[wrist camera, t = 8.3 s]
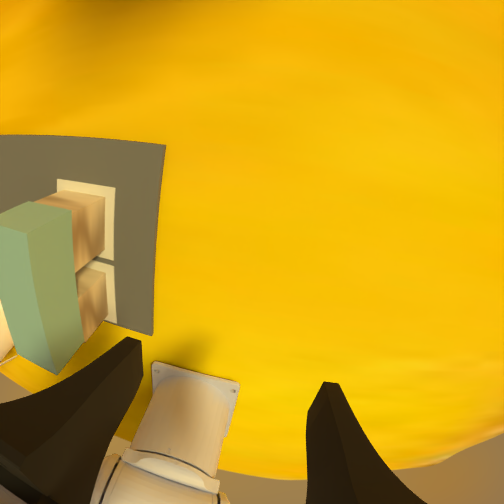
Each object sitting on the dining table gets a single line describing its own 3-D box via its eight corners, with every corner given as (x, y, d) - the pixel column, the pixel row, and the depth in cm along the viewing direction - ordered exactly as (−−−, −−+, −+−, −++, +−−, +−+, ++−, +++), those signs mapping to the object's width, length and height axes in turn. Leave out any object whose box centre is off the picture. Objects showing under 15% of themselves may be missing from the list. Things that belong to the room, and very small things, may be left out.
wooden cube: (108, 314, 23) (85, 342, 20) (71, 301, 23) (46, 326, 20) (105, 272, 22) (77, 299, 18) (66, 261, 22) (37, 283, 18)
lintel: (84, 340, 19) (57, 375, 16) (45, 324, 20) (17, 353, 16) (71, 210, 15) (26, 233, 12) (28, 201, 16) (-15, 220, 12)
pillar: (104, 249, 21) (75, 273, 17) (64, 238, 21) (33, 259, 17) (105, 197, 19) (71, 213, 16) (63, 189, 19) (28, 204, 16)
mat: (153, 333, 24) (151, 336, 23) (8, 279, 24) (5, 281, 24) (166, 145, 18) (163, 145, 17) (-3, 135, 18) (-7, 135, 18)
